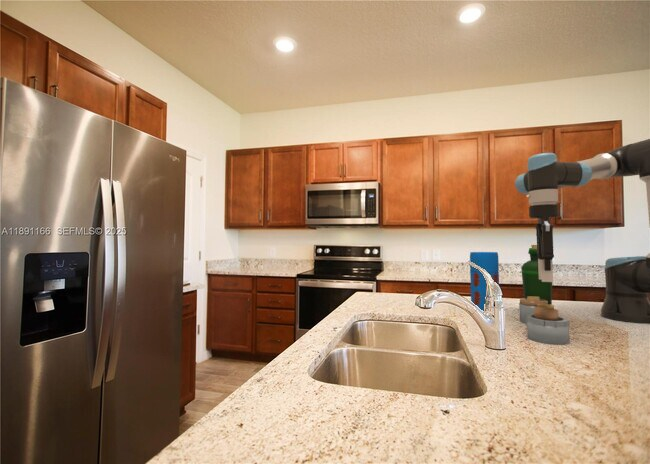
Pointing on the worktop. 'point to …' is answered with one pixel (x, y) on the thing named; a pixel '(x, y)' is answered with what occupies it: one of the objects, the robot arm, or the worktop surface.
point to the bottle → (535, 279)
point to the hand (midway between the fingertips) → (545, 280)
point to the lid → (546, 312)
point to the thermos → (477, 279)
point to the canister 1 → (529, 306)
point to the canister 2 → (548, 330)
